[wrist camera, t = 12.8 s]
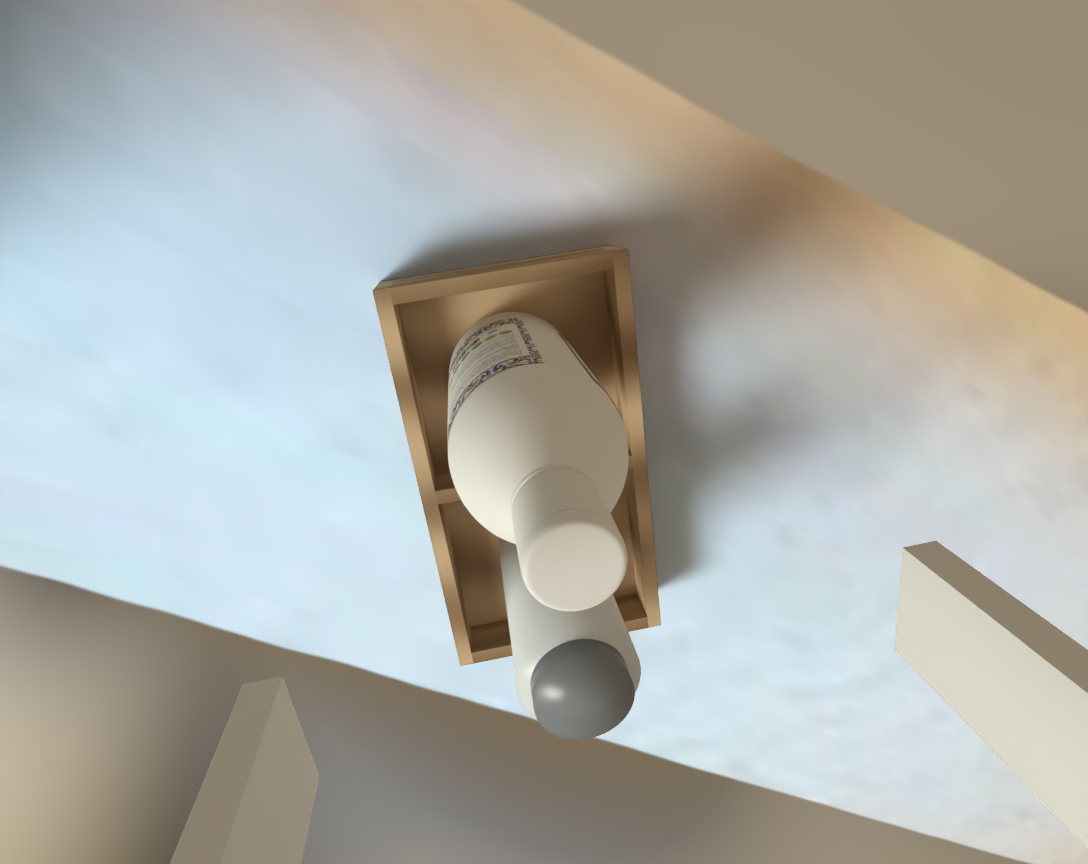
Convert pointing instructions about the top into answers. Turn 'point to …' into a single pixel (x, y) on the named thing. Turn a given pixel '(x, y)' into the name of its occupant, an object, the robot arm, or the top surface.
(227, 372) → the top surface
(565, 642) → the white and grey cylinder
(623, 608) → the caddy
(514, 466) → the bath foam
